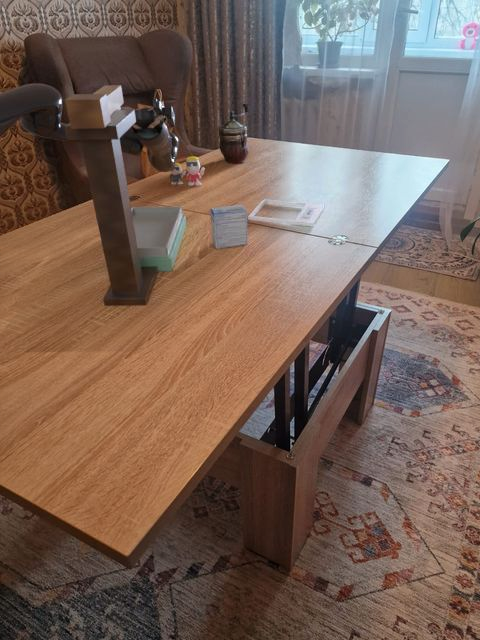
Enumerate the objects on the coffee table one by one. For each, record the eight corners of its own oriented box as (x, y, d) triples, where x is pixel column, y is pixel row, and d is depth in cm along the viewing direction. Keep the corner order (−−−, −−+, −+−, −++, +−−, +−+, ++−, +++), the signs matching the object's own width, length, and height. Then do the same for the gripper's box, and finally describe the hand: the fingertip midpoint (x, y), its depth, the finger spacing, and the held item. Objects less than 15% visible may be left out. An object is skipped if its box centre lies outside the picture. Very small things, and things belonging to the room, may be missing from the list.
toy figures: (167, 184, 155) (164, 157, 150) (171, 180, 159) (169, 154, 154) (203, 186, 154) (201, 159, 149) (206, 182, 157) (205, 155, 152)
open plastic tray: (107, 272, 105) (102, 249, 101) (133, 225, 126) (130, 206, 123) (172, 271, 105) (169, 249, 102) (186, 225, 127) (184, 205, 124)
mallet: (71, 129, 72) (64, 99, 70) (102, 103, 91) (98, 79, 89) (104, 128, 73) (99, 98, 70) (129, 102, 92) (125, 78, 89)
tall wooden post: (104, 305, 93) (63, 126, 74) (120, 272, 104) (89, 110, 85) (146, 305, 93) (115, 125, 74) (157, 272, 104) (134, 109, 86)
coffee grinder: (259, 156, 184) (259, 104, 173) (242, 165, 173) (241, 110, 163) (230, 153, 188) (228, 101, 178) (211, 162, 177) (208, 108, 167)
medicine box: (243, 238, 119) (242, 204, 114) (248, 245, 116) (247, 210, 111) (212, 242, 117) (209, 207, 112) (216, 249, 114) (214, 214, 109)
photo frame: (313, 222, 124) (247, 215, 129) (313, 226, 125) (248, 219, 129) (325, 204, 136) (264, 198, 140) (324, 208, 136) (264, 202, 141)
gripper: (180, 146, 118) (168, 121, 102) (122, 146, 118) (101, 122, 101) (180, 114, 117) (167, 84, 101) (121, 114, 117) (99, 85, 101)
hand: (134, 103), depth 101 cm, fingers open, 8 cm apart
